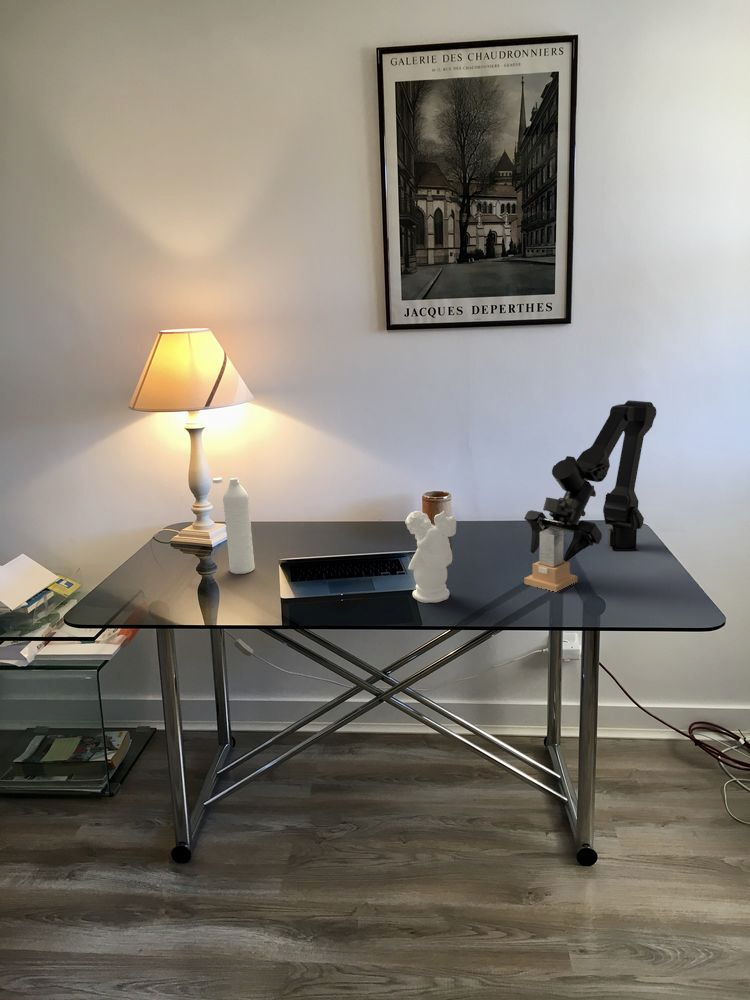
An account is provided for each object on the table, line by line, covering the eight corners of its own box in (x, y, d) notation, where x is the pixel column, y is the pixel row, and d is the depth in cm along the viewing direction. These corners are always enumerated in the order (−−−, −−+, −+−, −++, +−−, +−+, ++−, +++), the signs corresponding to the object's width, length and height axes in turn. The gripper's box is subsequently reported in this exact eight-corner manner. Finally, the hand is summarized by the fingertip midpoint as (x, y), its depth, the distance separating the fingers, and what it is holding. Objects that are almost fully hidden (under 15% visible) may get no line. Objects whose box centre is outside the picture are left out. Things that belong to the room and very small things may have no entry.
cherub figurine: (402, 594, 188) (398, 505, 182) (442, 581, 195) (439, 495, 189) (435, 609, 178) (431, 515, 173) (475, 595, 185) (473, 504, 180)
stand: (545, 573, 197) (545, 554, 195) (577, 581, 190) (577, 562, 189) (524, 583, 191) (524, 564, 189) (556, 592, 185) (556, 572, 183)
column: (548, 572, 193) (549, 527, 190) (563, 576, 190) (564, 531, 187) (538, 577, 190) (539, 531, 187) (553, 581, 187) (554, 535, 184)
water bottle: (256, 565, 212) (248, 474, 205) (252, 573, 206) (244, 480, 199) (224, 566, 212) (215, 475, 205) (219, 575, 206) (209, 482, 199)
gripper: (528, 478, 193) (501, 532, 189) (597, 489, 180) (569, 548, 176) (546, 502, 201) (520, 554, 196) (613, 515, 188) (587, 571, 183)
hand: (548, 556), depth 188 cm, fingers open, 9 cm apart
